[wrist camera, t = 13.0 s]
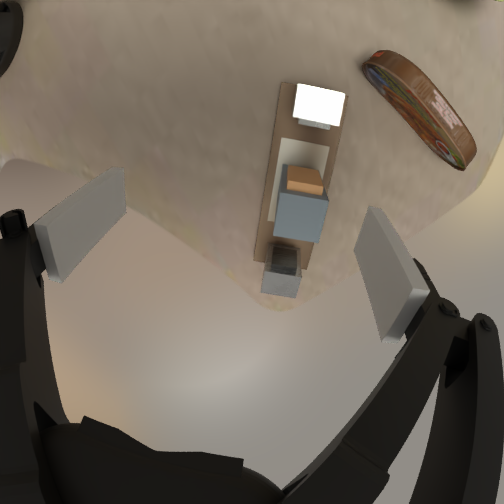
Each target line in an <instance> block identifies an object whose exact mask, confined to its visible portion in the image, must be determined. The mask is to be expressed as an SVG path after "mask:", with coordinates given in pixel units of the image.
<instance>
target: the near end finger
mask: <svg viewBox="0 0 504 504" xmlns="http://www.w3.org/2000/svg"><path fill="white" fill-rule="evenodd" d="M344 98H345V94H344V93H340V92H336V91H332V90H327V89H323V88H318V87H313V86H309V85H303V84H296V89H295V95H294V101H293V107H292V116H293V117H297V121H298V124H302V125H307V126H312V127H317V128H322V129H326V130H330V126H331V125H335V126H339V123H340V118H341V113H342V108H343V103H344Z"/></svg>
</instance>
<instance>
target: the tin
mask: <svg viewBox="0 0 504 504" xmlns="http://www.w3.org/2000/svg"><path fill="white" fill-rule="evenodd" d="M362 69H363V72H364V74H365V75H366V77H367V79H368V80H369V81H370V83H371V84H372V85H373V86H374V87H375V88H376V89H377V91H378V92H379V93H380V94H381V95H382V96H383V97H384V98H385V99H386V100H387V101H388V102H389V103H390V104H391V105H392V106H393V107H394V108H395V109H396V110H397V111H398V112H399V113H400V114H401V115H402V117H403V118H404V119H405V120H406V121H407V122H408V123H409V125H410V126H411V127H412V128H413V129H414V130H415V131H416V133H417V134H418V135H419V136H420V137H421V139H422V140H423V141H424V142H425V143H426V144H427V145H428V146H429V147H430V148H431V149H432V150H433V151H434V152H435V153H436V154H437V155H438V156H439V157H440V158H442V159H443V160H444V161H445V162H447V163H448V164H449V165H451V166H452V167H454V168H455V169H457V170H460V171H464V170H465V169H466V167H467V166H468V164H469V163H470V162H471V161H472V159H473V158H474V157H475V155H476V152H477V148H476V144H475V141H474V139H473V137H472V135H471V133H470V132H469V130H468V129H467V127H466V126H465V124H464V123H463V121H462V120H461V118H460V117H459V116H458V114H457V113H456V112H455V110H454V109H453V107H452V106H451V105H450V104H449V102H448V101H447V100H446V98H445V97H444V96H443V95H442V93H441V92H440V91H439V90H438V89H437V87H436V86H435V85H434V84H433V83H432V81H431V80H430V79H429V78H428V77H427V76H426V75H425V74H424V73H423V72H422V71H421V70H420V69H419V68H418V67H417V66H416V65H415V64H413V63H412V62H411V61H410V60H408V59H407V58H405V57H403V56H402V55H400V54H398V53H395V52H393V51H390V50H380V51H377V52H376V53H375V54H373V56H372V57H371V58H370V59H369V60H368V61H367V62H365V63H363V65H362Z"/></svg>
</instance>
